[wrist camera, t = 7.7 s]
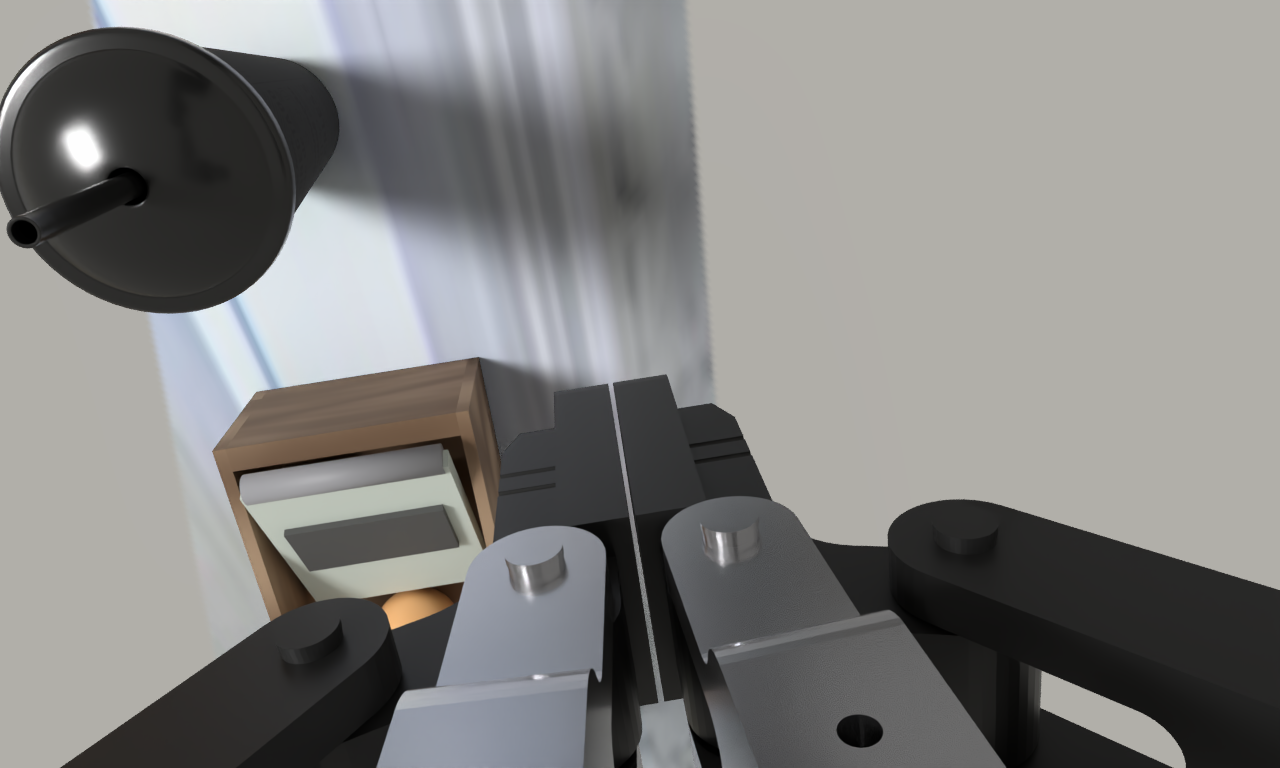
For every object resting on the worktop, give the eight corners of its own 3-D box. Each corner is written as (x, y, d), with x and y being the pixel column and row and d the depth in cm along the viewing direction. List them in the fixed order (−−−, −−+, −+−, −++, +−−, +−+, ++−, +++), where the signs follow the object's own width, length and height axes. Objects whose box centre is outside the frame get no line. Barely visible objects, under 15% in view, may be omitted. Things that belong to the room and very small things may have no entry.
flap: (236, 469, 36) (232, 497, 35) (444, 436, 36) (444, 463, 36) (320, 585, 44) (318, 611, 43) (492, 557, 44) (493, 582, 43)
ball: (345, 640, 42) (372, 668, 45) (424, 671, 41) (445, 698, 44) (390, 561, 44) (413, 594, 47) (466, 589, 43) (483, 620, 46)
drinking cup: (415, 135, 39) (294, 258, 20) (280, 251, 40) (50, 465, 21) (276, -26, 36) (-9, -53, 18) (136, 103, 37) (-268, 204, 19)
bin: (256, 392, 42) (212, 451, 37) (478, 357, 42) (468, 410, 37) (356, 707, 49) (331, 797, 44) (546, 675, 49) (546, 760, 44)
